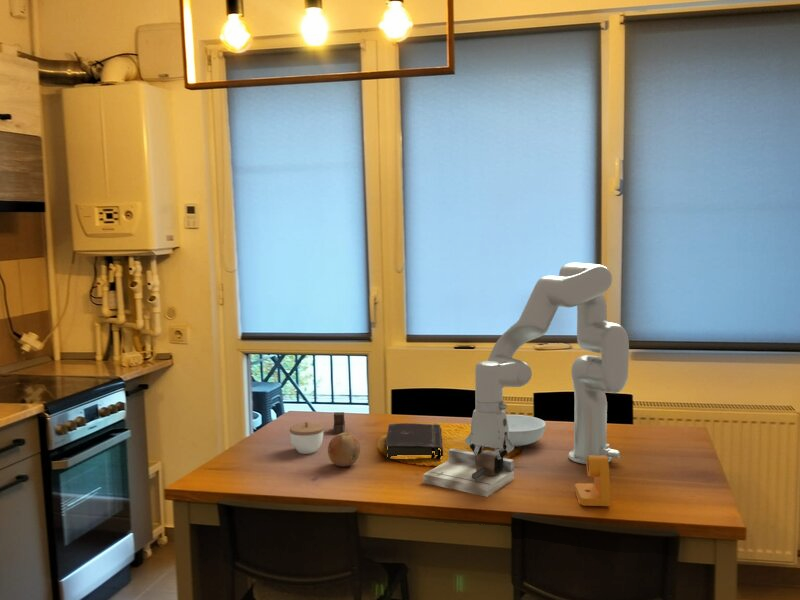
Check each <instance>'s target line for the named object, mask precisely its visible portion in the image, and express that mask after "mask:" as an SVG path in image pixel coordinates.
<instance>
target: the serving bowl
mask: <svg viewBox="0 0 800 600" xmlns="http://www.w3.org/2000/svg"><path fill="white" fill-rule="evenodd" d="M506 415H507V420H508V428H509V440H510V442H511V443H512V445H513V446H514V447H523V446H526V445H530V444H534V443H536V442H537V441H539V440H540V439H541V438H542V436H543V435H544V433H545V430H546V421H544V420H543V419H541V418H538V417H534V416H530V415H521V414H506Z"/></svg>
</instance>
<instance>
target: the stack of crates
mask: <svg viewBox="0 0 800 600" xmlns="http://www.w3.org/2000/svg"><path fill="white" fill-rule="evenodd" d="M345 431H346V420H345V411H343V412H339V411H338V412H334V414H333V435H338V434H340V433H345Z"/></svg>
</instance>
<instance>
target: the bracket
mask: <svg viewBox="0 0 800 600" xmlns="http://www.w3.org/2000/svg"><path fill="white" fill-rule="evenodd" d="M585 465H586V473H587V477H589V478H591V477H592V478H594V479H593V480H594V481H593V482H592V483H588V482H587V483H583V482H582V483H580V482H578V483H575V484H574V492H575V497H576V496H577V498H578V500H579V502H580V504H581V505H580V506H583V507H584V506H585V507H586V506H588V507H594V506H595V507H611V503H612V501H611V500H612V497H611V496H612V495H611V480H610V462H608V457H607V456H606V455H588V456H587V463H586V464H585ZM577 498H576V499H577ZM578 500H577V501H578ZM579 502H578V503H579Z"/></svg>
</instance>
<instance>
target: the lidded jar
mask: <svg viewBox="0 0 800 600" xmlns="http://www.w3.org/2000/svg"><path fill="white" fill-rule="evenodd" d="M324 429H325V428H324V426H323V425H322V424H321V423H318V422H308V421H304V422H302V423H301V422H300V423H296V424H293V425H292V426H290V427H289V434H290V435H289V438H290V442H291V445H292V446H293V448H294V449H295V450H296V451H297V453H299V454H304V455H305V454H306V455H307V454H308V455H309V454H314V453H316V452H317V451H318V450H319V449H320V447H321V446H322V444H323V440H324Z"/></svg>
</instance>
